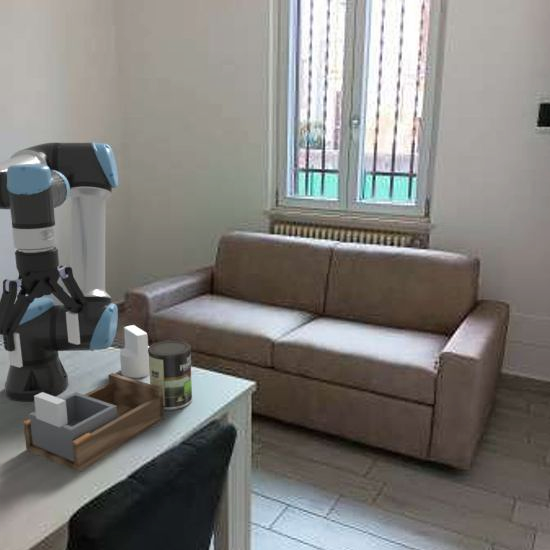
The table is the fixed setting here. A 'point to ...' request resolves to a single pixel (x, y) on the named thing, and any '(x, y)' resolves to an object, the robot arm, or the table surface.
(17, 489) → the table surface
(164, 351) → the coffee can
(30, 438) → the bay
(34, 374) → the robot arm
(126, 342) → the base with upright slab
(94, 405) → the box
